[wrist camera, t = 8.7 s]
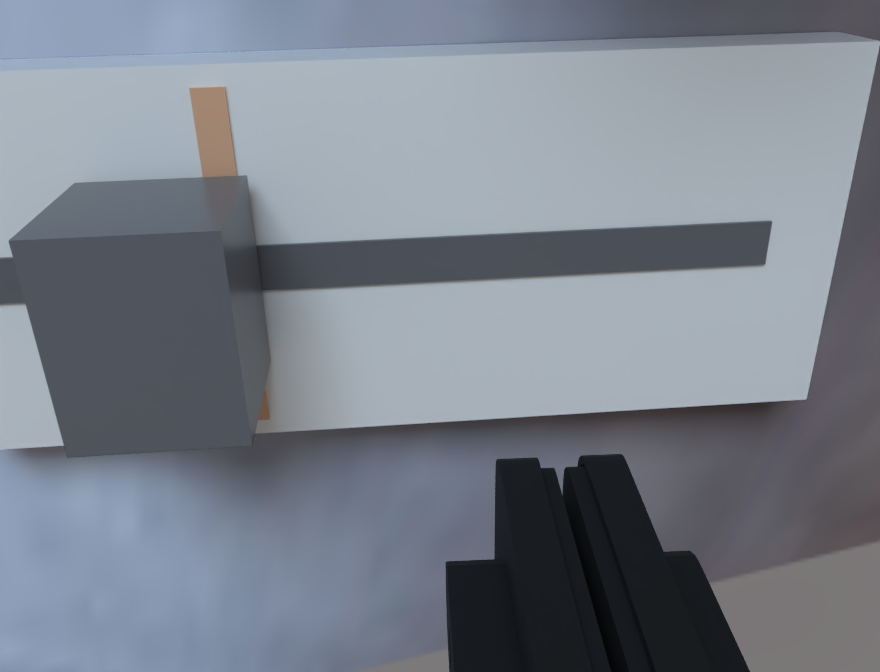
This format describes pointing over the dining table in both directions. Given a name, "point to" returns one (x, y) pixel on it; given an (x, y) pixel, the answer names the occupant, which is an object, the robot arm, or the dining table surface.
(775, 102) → the console
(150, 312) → the fader knob
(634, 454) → the dining table surface
